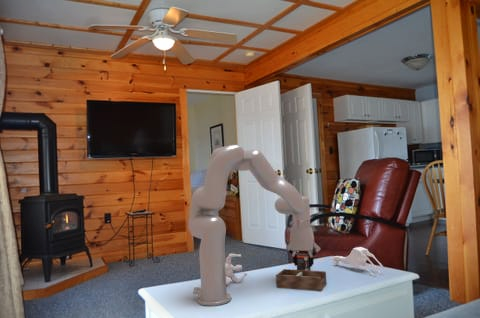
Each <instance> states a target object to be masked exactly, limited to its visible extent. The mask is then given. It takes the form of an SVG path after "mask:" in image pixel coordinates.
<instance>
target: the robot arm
mask: <svg viewBox="0 0 480 318" xmlns="http://www.w3.org/2000/svg"><path fill="white" fill-rule="evenodd" d="M210 158H211V161H210V162H209V164H208V167H207V169H206V173H205V180H204V185H203V186H201V187H198V188H197V189H195V190H194V192H193V194H192V197H191V200H190V208H189V215H188V231H189V233H190V234H191V236H193V237H195V238H197V239H200V244H199V252H198V253H199V255H198V257H199V273H200V285H201V288H200V286H194V287H193V291H192V294H193V295H198V297H197V299H196V300H197V303H198V304H199V305H201V306H210V307H212V306H214V307H215V306H221V305H224V304H227V303H229V302H230V301H232V295H231V294H230V293H228V289H227V286H228V285H227V286H226V266H225V263H226V253H225V251H226V250H225V249H226V248H225V246H226V245H225V242H226V233H227V232H226V231H227V227H226V222H225V221H224V219H222V218H221V216H218V215H216V214H215V215H214V214H213V213H212V212H219V211H221V210H222V209H223V208H224V206H225V204H226V196H227V188H228V180H229V175H230V173H231V171H240V172H242V171H243V172H244V171H249V172H250V173H251V174H252V176H253V177H254V178H255V180H256V181H257V183H258V184H259V185H260V187H261V188H263V189H264V190H266V191H269V192H271V193H274V194H276V195H277V196H279V197H278V198H277V199H276V200H275V202H274V208H275V210H276V211H277V213H279V214H283V215H292V221H289V225H291V226H292V227H291V229H290V239H289V240H290V241H289V243H288V244H287V245H286V246H285V249H286V250H287V251H288V252H289V253H290V255H291V256H292V257H293V258H292V260H293V262H292V263H293V264H294V267H297V258H296V254H297V253H298V252H299V251H308V253H309V255H310V257H309V266H310V268H312V267H313V265H314V264H315V263H314V262H315V261H314V257H315V256H316V254H318V252H319V251H320V250H321V247H320V246H319V245H318V244H317V243H316V242H315V235H314V231H313V228H312V226H311V212H310V211H311V210H310V199H309V197H308V196H303V195H301V194H300V192H299V190H298V189H297V188H296V187H294V185H293V184H291V183H290V182H288V181H287V180H286V179H284V178H283V177H282V176H280V175H279V174H278V173H277V172H276V171H275V169H274V167H273V166H272V165H271V163H270V162H269V160H268V159H267V158H266V156H265V155H264V153H263V152H262V151H260V150H258V149H249V150H244V148H243V147H242V146H241V145H239V144H229V145H226V146H222V147H217V148H216V149H214V150H213V151H212V153H211V157H210ZM313 250H314V251H313Z"/></svg>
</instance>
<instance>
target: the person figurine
mask: <svg viewBox="0 0 480 318" xmlns="http://www.w3.org/2000/svg"><path fill="white" fill-rule="evenodd" d="M235 257H236V258H237V257H238V258H241V257H242V253H241V254H240V253H239V254H236V253H229V254H228V256H227V257H225V266H226V286H229V284H231V283H232V282H233V283H236V284H240V283H241V282H242V281H243V280H244V279H245V277H246V276H248V274H247V273H246V272H244V274H243V276H241V277H240V278H239V279H238V278H237V277H236V275H235V273H234V271H236V272H239V271H242V270H243V266H242V264H236V265H235V266H234V265H233V264H232V258H235ZM199 288H201V284H200V285H199Z"/></svg>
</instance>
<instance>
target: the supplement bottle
mask: <svg viewBox="0 0 480 318" xmlns="http://www.w3.org/2000/svg"><path fill="white" fill-rule="evenodd" d="M309 257H310V255H309V253H308V251H297V254H296V258H297V265H296V270H308V271H312V270H311V269H312V267H310V266H309Z"/></svg>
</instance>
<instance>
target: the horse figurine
mask: <svg viewBox="0 0 480 318" xmlns="http://www.w3.org/2000/svg"><path fill="white" fill-rule="evenodd" d="M369 257H371V258H373V260H375V261H376V262H377V263H378V264H379V266H380V269H383V267H384V265H382V263H381V262H380V261H379V260H378V259H377V258H376V257H375V255H374V254H373V253H371V252H370V251H369V249H368V248H365V247H362V246H356V247H354V248H352V249H351V252H350V254H349V255H346V256H341V255H333V257H332V259H331V261H332V264H333V265H334V266H335V267H336V266H339V263H340V262H341V263H342V264H344V265H349V266H351V267H353V268H355V269H356V268H361V269H363V270H365V271H367V272H368V273H370V274H371V275H372V277H375V273H373V272H372V271H371V270H370V269H368V268H367V267H369V268H371V269H373V270H375V271H376V272H378V274H381V273H382V272H381V271H380V270H379V269H378V268H377V266H376V265H375V264H374V263H373V262H372V261H371V260H370V258H369ZM367 261H368V262H369V263H370V264H371V265H370V264H368V263H367ZM365 266H367V267H365Z"/></svg>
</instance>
